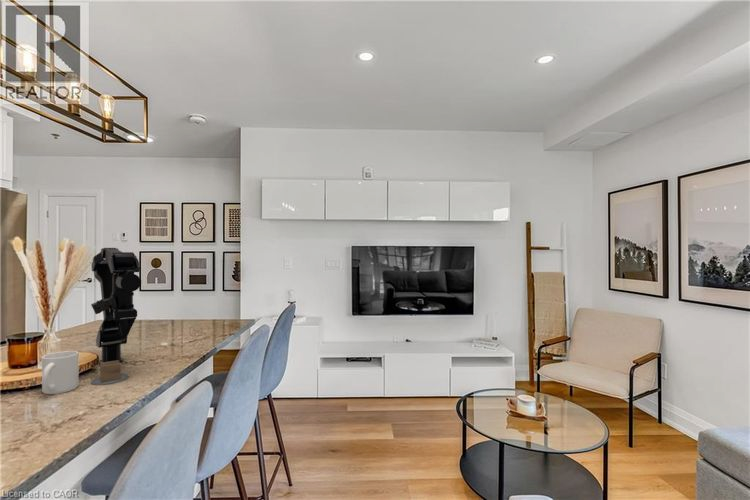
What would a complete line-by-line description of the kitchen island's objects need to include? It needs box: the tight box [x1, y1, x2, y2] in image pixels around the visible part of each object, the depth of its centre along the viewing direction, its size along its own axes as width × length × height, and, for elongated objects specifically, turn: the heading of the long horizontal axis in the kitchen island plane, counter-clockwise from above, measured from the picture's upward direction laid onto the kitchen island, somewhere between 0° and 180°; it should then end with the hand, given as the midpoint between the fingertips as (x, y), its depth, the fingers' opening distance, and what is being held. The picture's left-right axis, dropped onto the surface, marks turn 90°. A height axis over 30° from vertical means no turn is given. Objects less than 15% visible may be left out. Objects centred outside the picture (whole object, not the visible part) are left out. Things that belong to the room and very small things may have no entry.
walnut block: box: [99, 360, 122, 383], centre depth 121 cm, size 5×5×5 cm
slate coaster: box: [90, 373, 130, 386], centre depth 121 cm, size 10×10×1 cm
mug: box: [41, 350, 80, 395], centre depth 111 cm, size 12×8×10 cm
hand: (122, 335), depth 129 cm, fingers open, 9 cm apart
